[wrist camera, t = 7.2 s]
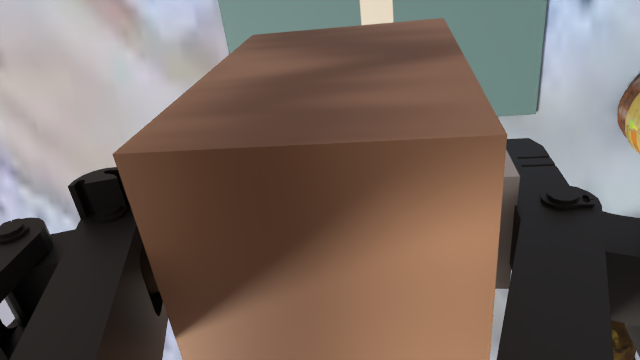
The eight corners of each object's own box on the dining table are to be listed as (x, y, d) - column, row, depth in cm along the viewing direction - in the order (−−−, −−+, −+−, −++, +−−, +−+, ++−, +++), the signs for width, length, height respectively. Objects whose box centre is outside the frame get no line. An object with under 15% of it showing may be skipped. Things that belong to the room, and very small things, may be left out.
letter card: (559, -137, 25) (560, -138, 25) (535, 113, 32) (536, 114, 32) (201, -87, 29) (200, -87, 29) (245, 130, 35) (244, 132, 35)
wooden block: (443, 17, 15) (507, 134, 7) (441, 190, 17) (485, 415, 9) (252, 34, 16) (112, 153, 8) (280, 195, 18) (197, 403, 10)
